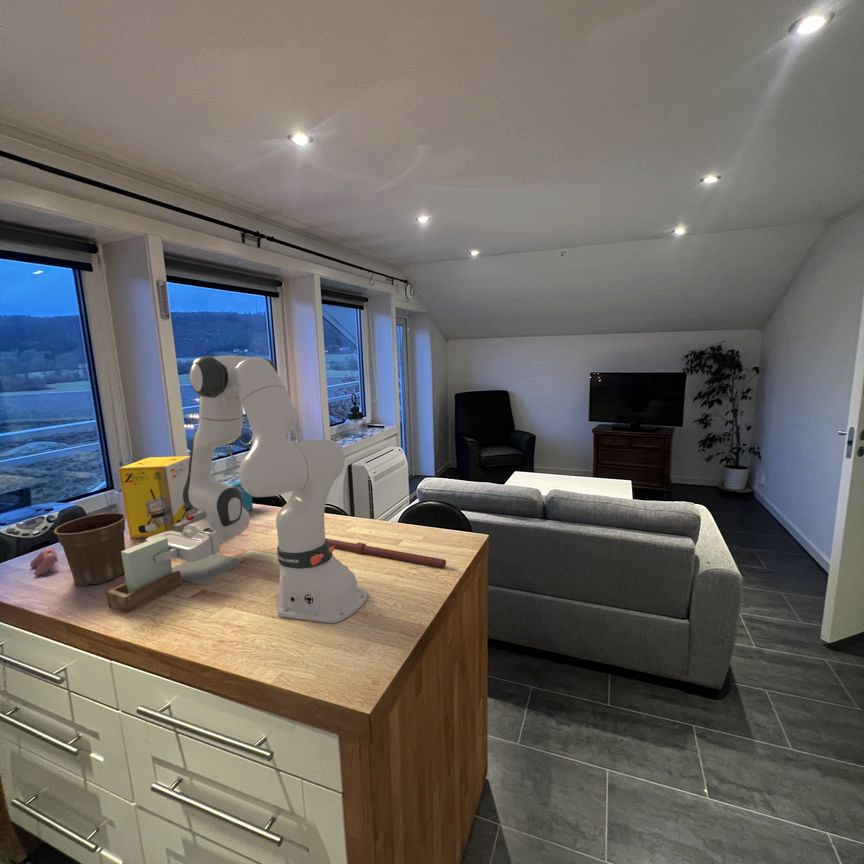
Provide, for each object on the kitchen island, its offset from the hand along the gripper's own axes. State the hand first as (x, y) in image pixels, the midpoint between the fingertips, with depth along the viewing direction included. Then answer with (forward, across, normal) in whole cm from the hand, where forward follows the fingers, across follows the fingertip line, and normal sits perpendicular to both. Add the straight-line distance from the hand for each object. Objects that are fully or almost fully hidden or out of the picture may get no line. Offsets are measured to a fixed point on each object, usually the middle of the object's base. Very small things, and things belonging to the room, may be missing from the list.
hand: (149, 557), depth 117 cm
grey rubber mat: (-14, 0, +9) cm, 17 cm away
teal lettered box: (-51, -30, +10) cm, 60 cm away
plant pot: (+1, -24, +10) cm, 26 cm away
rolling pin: (-40, +43, +10) cm, 60 cm away
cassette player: (-26, -18, +10) cm, 33 cm away
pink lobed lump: (+4, -45, +10) cm, 47 cm away
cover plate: (+1, 0, +8) cm, 8 cm away
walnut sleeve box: (+2, 0, +9) cm, 10 cm away
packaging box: (-30, -41, +10) cm, 52 cm away
